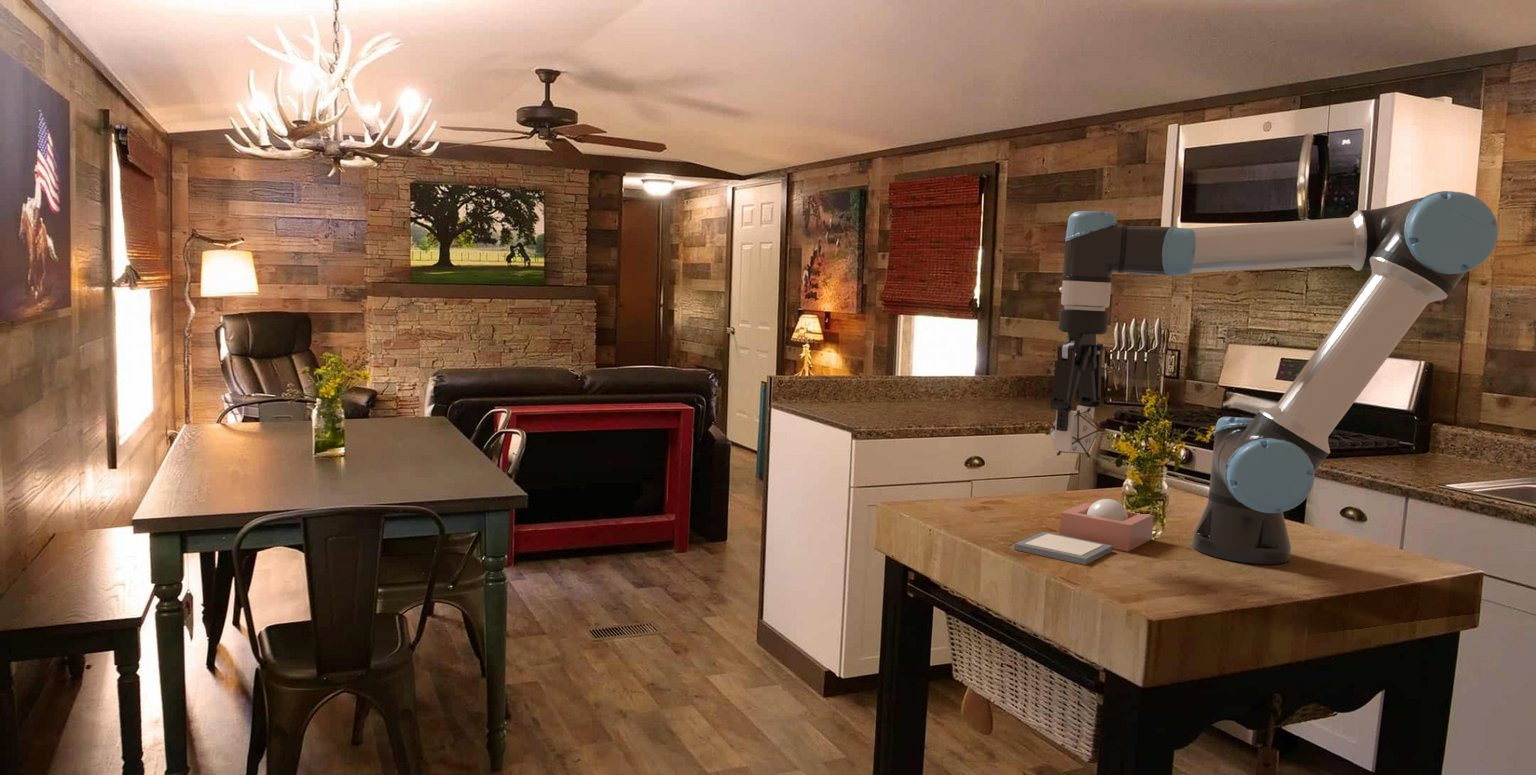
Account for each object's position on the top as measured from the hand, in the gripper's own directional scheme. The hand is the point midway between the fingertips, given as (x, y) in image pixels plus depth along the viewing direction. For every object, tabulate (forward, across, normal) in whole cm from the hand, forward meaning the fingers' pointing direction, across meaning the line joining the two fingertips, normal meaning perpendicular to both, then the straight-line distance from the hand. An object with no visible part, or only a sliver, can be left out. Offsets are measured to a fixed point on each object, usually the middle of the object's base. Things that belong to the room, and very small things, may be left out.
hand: (1072, 447), depth 171 cm
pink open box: (+17, -14, +2) cm, 22 cm away
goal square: (+17, 0, 0) cm, 17 cm away
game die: (+2, 0, 0) cm, 2 cm away
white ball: (+18, -14, +2) cm, 23 cm away
